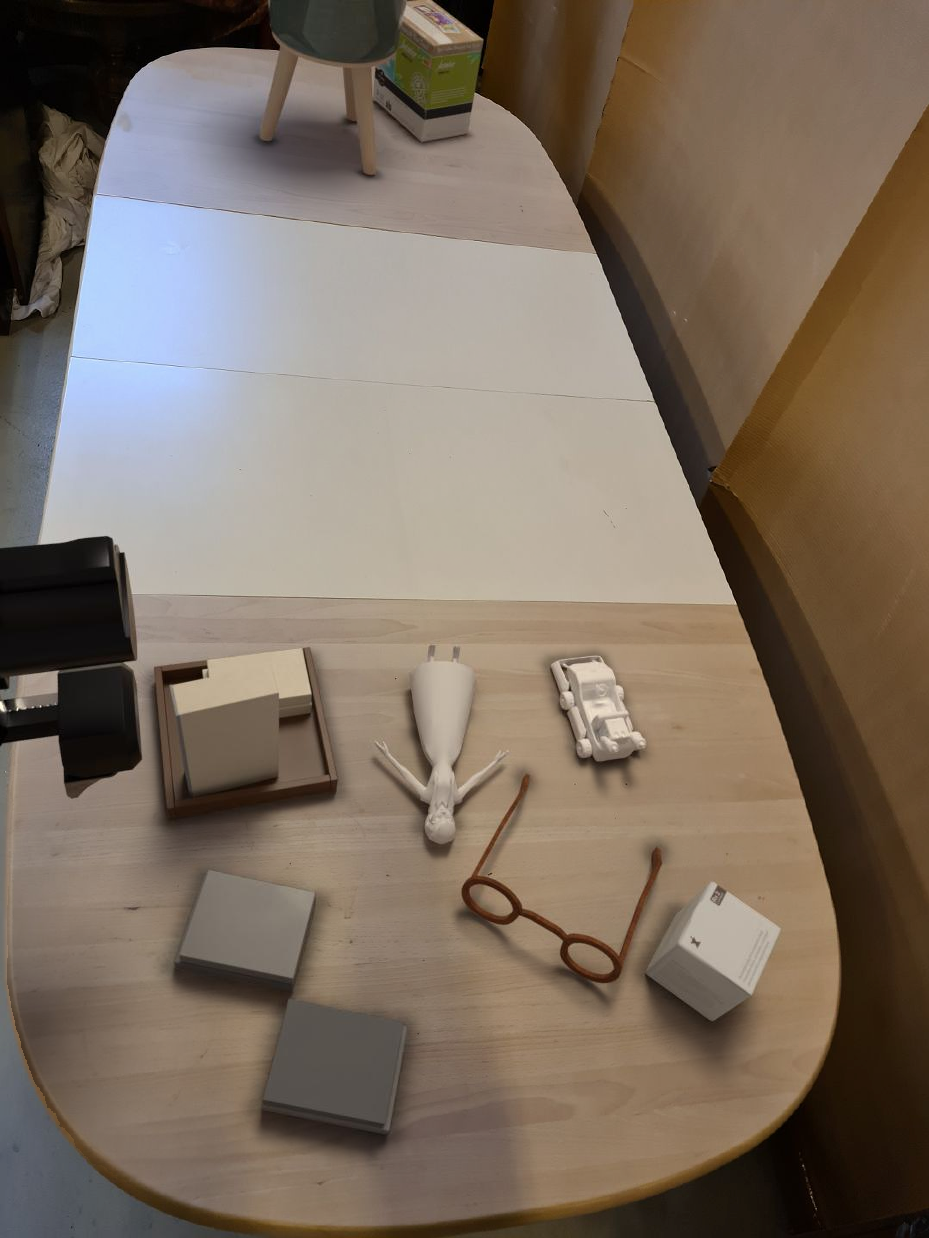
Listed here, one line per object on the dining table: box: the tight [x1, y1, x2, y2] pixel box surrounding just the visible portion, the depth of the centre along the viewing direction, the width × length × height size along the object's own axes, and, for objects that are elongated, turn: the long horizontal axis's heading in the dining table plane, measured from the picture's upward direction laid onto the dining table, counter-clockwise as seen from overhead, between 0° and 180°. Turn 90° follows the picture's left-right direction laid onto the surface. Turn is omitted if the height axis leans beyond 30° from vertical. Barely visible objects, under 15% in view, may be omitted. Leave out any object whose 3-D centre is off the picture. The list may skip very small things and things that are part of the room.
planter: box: [259, 0, 408, 176], centre depth 124 cm, size 22×22×33 cm
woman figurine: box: [373, 643, 509, 845], centre depth 75 cm, size 12×4×18 cm
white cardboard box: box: [645, 881, 782, 1022], centre depth 66 cm, size 6×6×7 cm
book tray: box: [153, 646, 339, 821], centre depth 74 cm, size 13×13×2 cm
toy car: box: [550, 655, 647, 762], centre depth 80 cm, size 6×12×4 cm, turn 14°
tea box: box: [372, 0, 484, 143], centre depth 142 cm, size 15×10×15 cm
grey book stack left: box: [173, 869, 317, 993], centre depth 64 cm, size 8×6×3 cm
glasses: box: [460, 773, 663, 984], centre depth 70 cm, size 13×13×5 cm
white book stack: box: [202, 647, 312, 718], centre depth 75 cm, size 8×5×3 cm, turn 106°
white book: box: [169, 665, 279, 798], centre depth 66 cm, size 7×2×13 cm, turn 111°
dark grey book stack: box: [261, 998, 409, 1135], centre depth 59 cm, size 8×6×3 cm
